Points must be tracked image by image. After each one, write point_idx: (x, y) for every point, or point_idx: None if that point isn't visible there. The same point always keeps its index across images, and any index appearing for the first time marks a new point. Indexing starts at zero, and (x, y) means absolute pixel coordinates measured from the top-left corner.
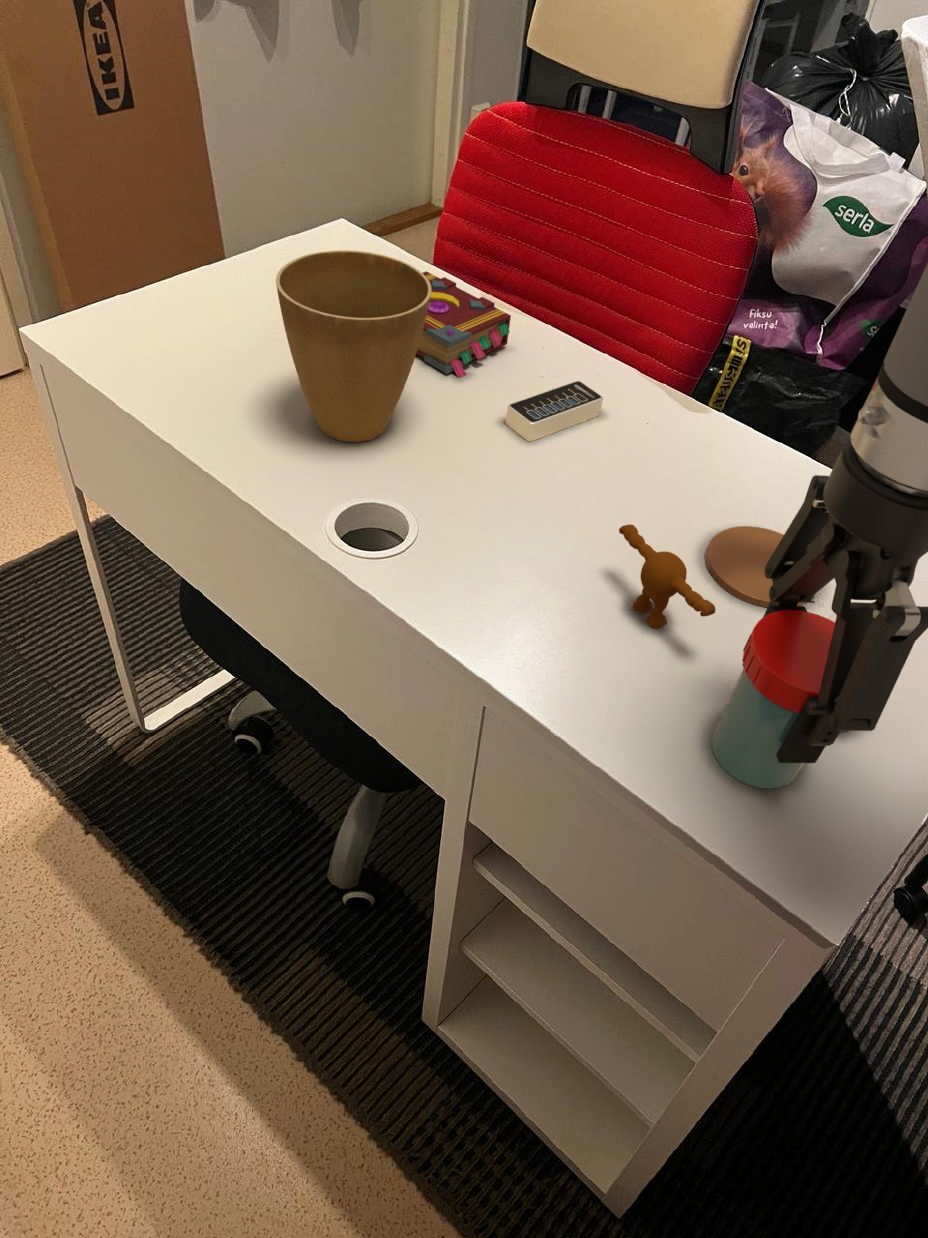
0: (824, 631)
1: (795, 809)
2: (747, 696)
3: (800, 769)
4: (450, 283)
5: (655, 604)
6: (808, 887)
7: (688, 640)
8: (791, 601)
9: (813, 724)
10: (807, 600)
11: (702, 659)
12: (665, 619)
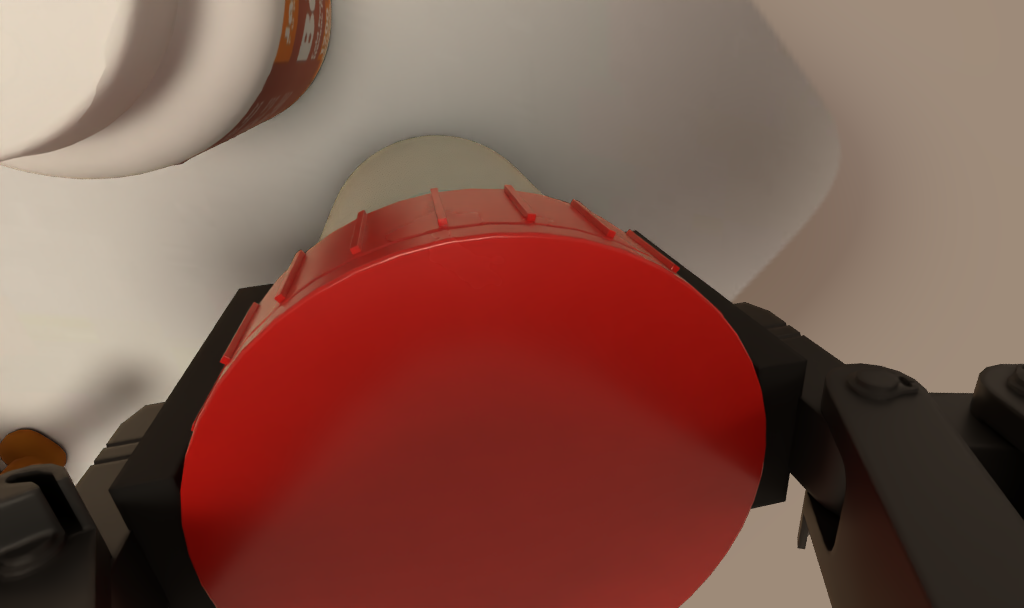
0: (337, 438)
1: (593, 177)
2: None
3: (503, 158)
4: None
5: None
6: (768, 187)
7: (75, 374)
8: (134, 597)
9: None
10: (55, 495)
11: (141, 343)
12: (20, 441)
